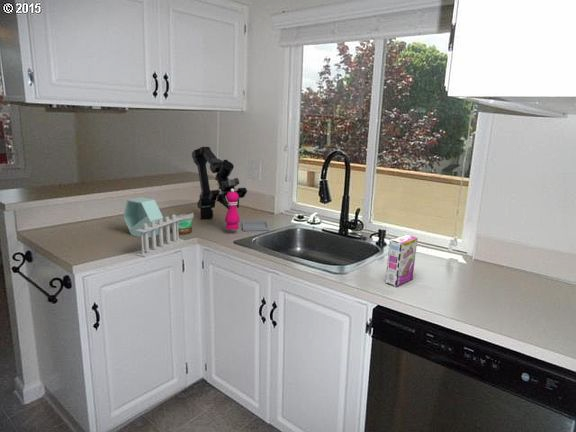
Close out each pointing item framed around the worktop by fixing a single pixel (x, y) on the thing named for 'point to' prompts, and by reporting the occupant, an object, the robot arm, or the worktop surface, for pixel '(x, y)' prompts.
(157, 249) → the test tube rack
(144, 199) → the planter
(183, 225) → the food container
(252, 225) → the slate tray
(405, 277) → the candy bar box
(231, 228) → the pink bowling pin
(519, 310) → the worktop surface
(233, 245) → the worktop surface
